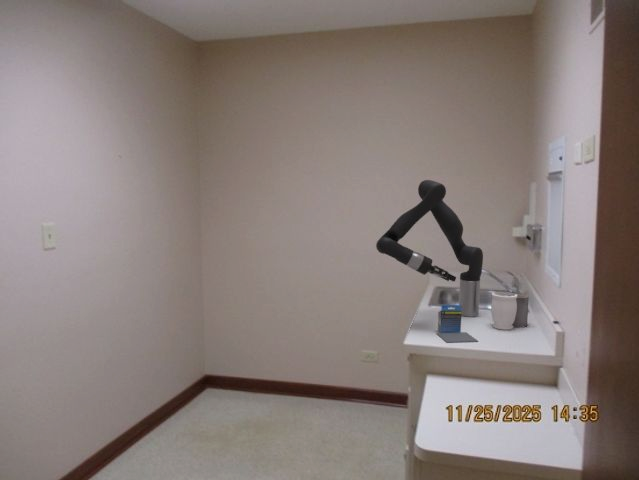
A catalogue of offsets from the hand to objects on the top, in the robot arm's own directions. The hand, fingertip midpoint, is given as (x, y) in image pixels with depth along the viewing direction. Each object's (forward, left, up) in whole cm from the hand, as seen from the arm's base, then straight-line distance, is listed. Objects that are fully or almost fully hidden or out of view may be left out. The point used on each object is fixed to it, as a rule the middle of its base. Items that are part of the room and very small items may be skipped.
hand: (452, 279), depth 205 cm
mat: (+14, -3, -22) cm, 26 cm away
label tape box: (+5, -3, -22) cm, 23 cm away
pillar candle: (-2, +31, -22) cm, 38 cm away
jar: (+1, +23, -22) cm, 32 cm away
